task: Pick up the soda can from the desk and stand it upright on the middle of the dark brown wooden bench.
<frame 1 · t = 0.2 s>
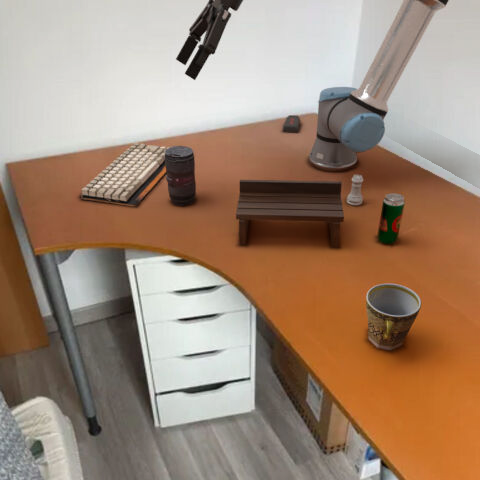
hand: (184, 69, 129), 36 cm above the table, tool tilted 35°, fingers open, 13 cm apart
soda can: (386, 240, 133), on the table
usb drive: (292, 126, 196), on the table
rook chess piece: (354, 203, 148), on the table
camera lens: (183, 201, 151), on the table
dark brown wooden bench: (288, 232, 136), on the table
mechanical keyboard: (134, 176, 165), on the table
ceramic cup: (384, 344, 103), on the table
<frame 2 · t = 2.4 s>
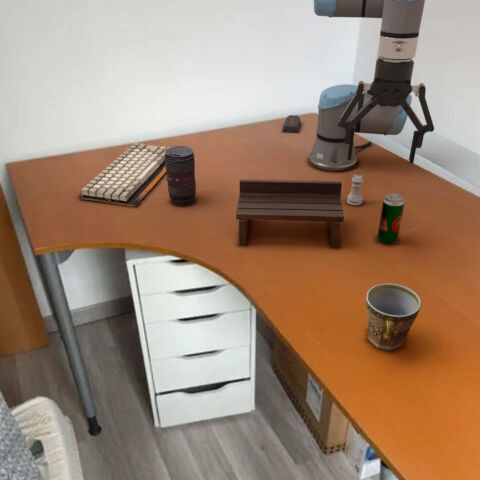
hand: (379, 159, 119), 22 cm above the table, tool pointing down, fingers open, 13 cm apart
nothing on the table moved.
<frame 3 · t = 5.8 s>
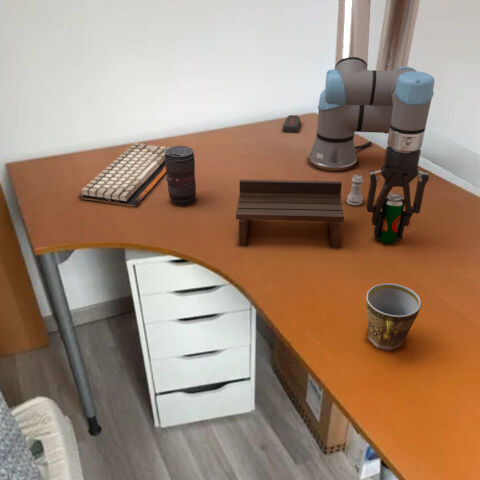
hand: (387, 235, 132), 1 cm above the table, tool pointing down, fingers closed on soda can, 5 cm apart
soda can: (386, 240, 133), on the table, touching gripper
everything else where it was.
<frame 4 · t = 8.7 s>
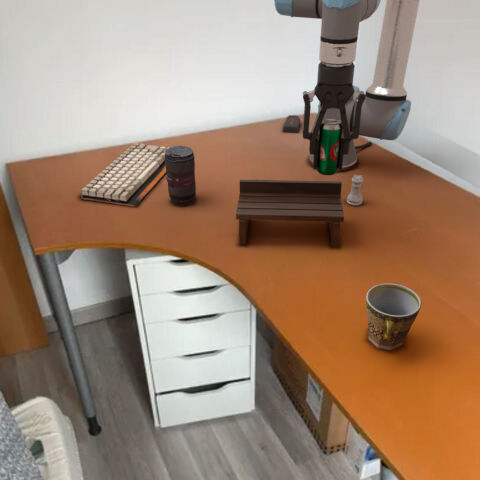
hand: (327, 166, 124), 19 cm above the table, tool pointing down, fingers closed on soda can, 5 cm apart
soda can: (326, 172, 124), point 17 cm above the table, touching gripper
everything else where it was.
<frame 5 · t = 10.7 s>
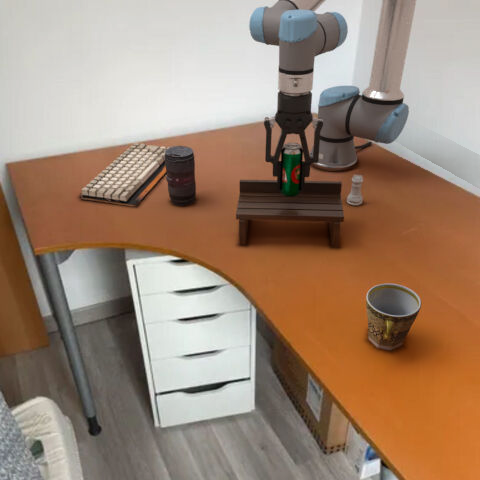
hand: (290, 188, 129), 13 cm above the table, tool pointing down, fingers closed on soda can, 5 cm apart
soda can: (290, 193, 129), point 11 cm above the table, touching gripper
everything else where it was.
when the fingers open (10 cm above the table, at t = 11.8 s): soda can stays where it is, resting on dark brown wooden bench.
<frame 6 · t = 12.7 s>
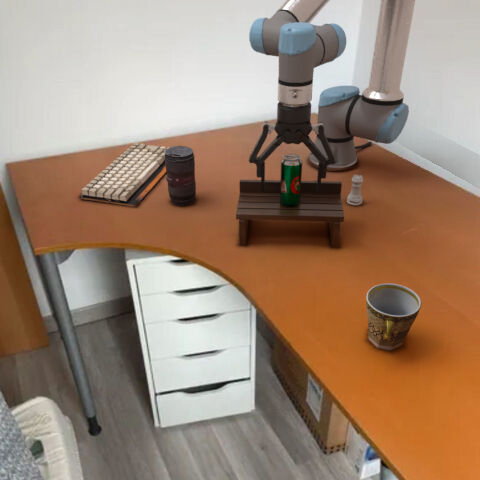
hand: (290, 189, 129), 12 cm above the table, tool pointing down, fingers open, 13 cm apart
soda can: (289, 203, 131), point 8 cm above the table, touching dark brown wooden bench
everything else where it was.
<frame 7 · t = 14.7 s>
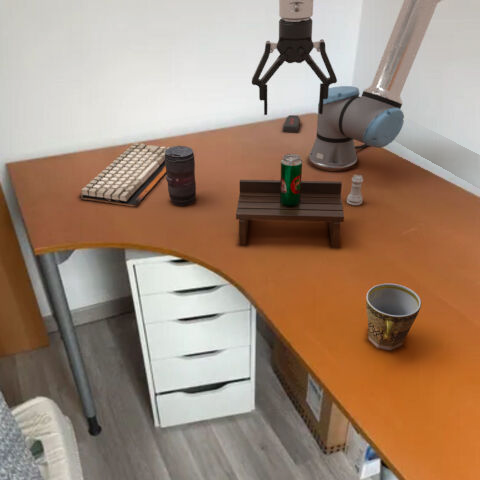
hand: (293, 112, 131), 26 cm above the table, tool pointing down, fingers open, 13 cm apart
nothing on the table moved.
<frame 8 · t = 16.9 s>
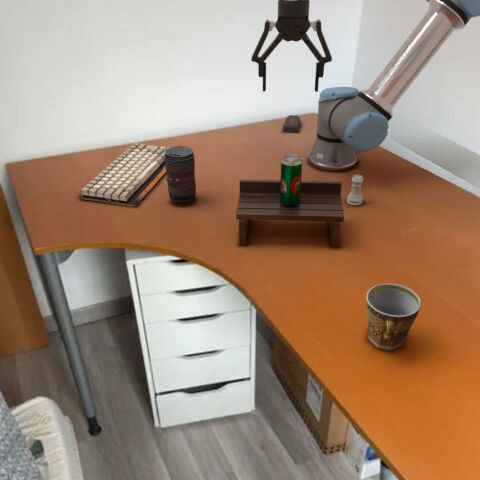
hand: (290, 90, 138), 29 cm above the table, tool pointing down, fingers open, 13 cm apart
nothing on the table moved.
at the end: soda can inside the target area on the dark brown wooden bench (0.0 cm from its centre), point 8.3 cm above the dark brown wooden bench's base; soda can tilted 0°; the gripper is holding nothing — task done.
